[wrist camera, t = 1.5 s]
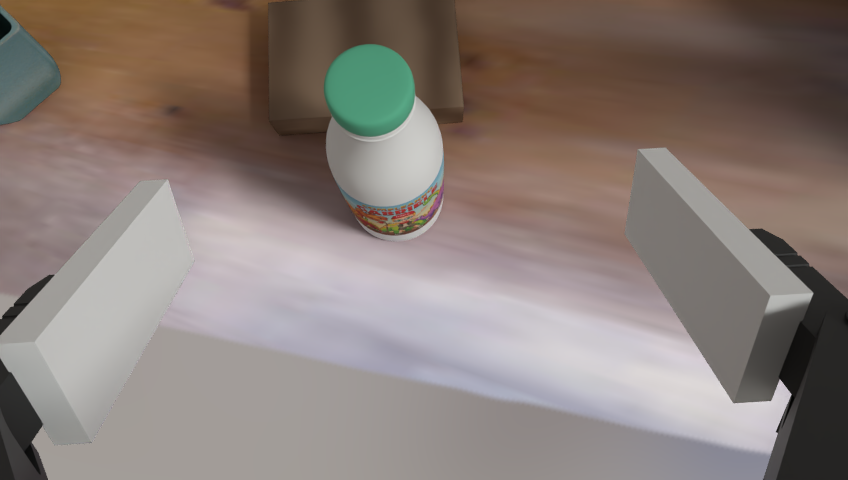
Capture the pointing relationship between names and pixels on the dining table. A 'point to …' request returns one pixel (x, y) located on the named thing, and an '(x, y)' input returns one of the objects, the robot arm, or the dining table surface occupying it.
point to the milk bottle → (383, 143)
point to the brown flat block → (351, 26)
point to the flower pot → (23, 71)
